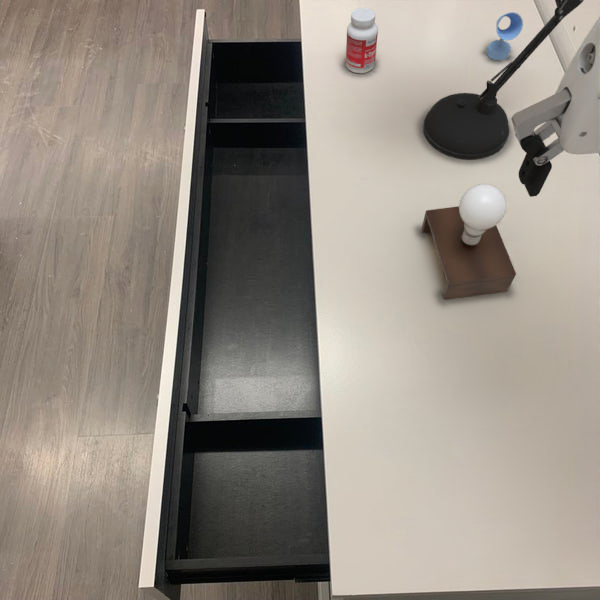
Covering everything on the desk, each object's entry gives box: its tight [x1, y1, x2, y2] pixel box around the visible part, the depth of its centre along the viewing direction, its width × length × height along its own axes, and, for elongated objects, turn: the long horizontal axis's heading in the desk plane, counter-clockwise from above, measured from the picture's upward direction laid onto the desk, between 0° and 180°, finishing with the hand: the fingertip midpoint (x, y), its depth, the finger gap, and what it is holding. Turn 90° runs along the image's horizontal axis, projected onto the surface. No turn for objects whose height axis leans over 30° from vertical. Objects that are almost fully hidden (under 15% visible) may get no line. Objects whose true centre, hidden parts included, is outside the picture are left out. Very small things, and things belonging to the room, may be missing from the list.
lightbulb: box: [458, 183, 508, 246], centre depth 76 cm, size 6×6×11 cm
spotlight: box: [486, 11, 524, 61], centre depth 107 cm, size 5×10×7 cm
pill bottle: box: [345, 7, 379, 74], centre depth 107 cm, size 6×6×11 cm
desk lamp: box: [422, 0, 585, 160], centre depth 81 cm, size 24×26×45 cm
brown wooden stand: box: [421, 205, 517, 301], centre depth 83 cm, size 10×14×5 cm
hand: (577, 179), depth 50 cm, fingers open, 9 cm apart
